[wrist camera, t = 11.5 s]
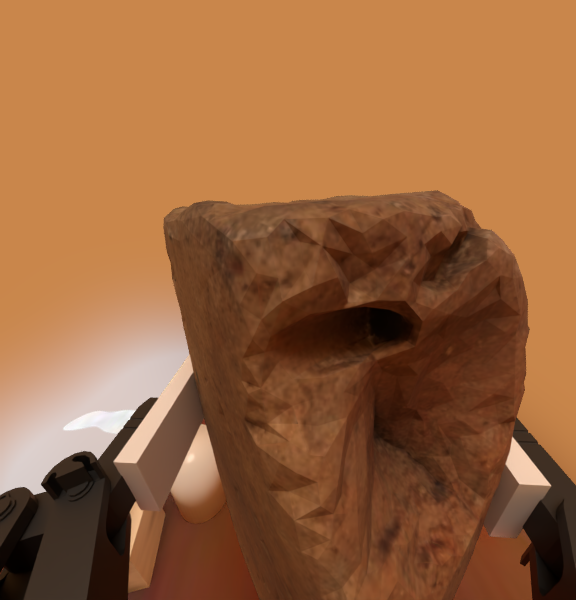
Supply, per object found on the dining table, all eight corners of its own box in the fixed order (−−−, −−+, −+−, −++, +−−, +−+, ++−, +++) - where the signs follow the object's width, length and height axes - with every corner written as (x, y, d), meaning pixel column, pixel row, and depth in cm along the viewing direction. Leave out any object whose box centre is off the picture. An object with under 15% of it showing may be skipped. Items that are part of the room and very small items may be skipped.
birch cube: (82, 605, 23) (52, 578, 21) (111, 527, 29) (90, 498, 26) (149, 587, 24) (129, 559, 22) (165, 514, 30) (150, 485, 27)
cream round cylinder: (169, 521, 29) (146, 475, 25) (192, 468, 34) (175, 423, 30) (219, 525, 28) (203, 478, 24) (234, 470, 34) (222, 424, 30)
